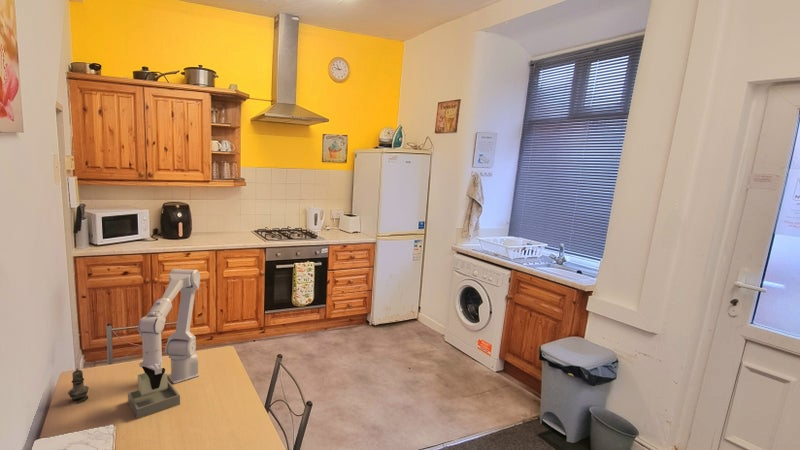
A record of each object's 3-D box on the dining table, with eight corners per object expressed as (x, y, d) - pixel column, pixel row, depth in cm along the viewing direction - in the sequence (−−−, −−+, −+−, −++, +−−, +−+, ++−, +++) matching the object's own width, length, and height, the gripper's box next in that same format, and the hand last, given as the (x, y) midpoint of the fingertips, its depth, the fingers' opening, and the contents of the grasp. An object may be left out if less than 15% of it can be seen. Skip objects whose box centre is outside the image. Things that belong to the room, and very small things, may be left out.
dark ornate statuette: (77, 405, 141) (75, 373, 139) (64, 402, 142) (62, 371, 141) (93, 396, 147) (91, 365, 145) (80, 394, 148) (78, 363, 146)
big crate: (168, 389, 154) (168, 380, 153) (180, 404, 145) (179, 395, 144) (128, 401, 145) (127, 392, 144) (137, 419, 135) (136, 409, 135)
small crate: (163, 383, 148) (163, 367, 148) (167, 388, 145) (167, 373, 144) (138, 390, 143) (137, 374, 142) (142, 396, 139) (141, 380, 138)
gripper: (133, 345, 144) (135, 380, 146) (144, 360, 134) (145, 397, 136) (156, 340, 149) (157, 374, 151) (168, 354, 139) (169, 390, 141)
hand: (153, 385), depth 144 cm, fingers closed on small crate, 5 cm apart
